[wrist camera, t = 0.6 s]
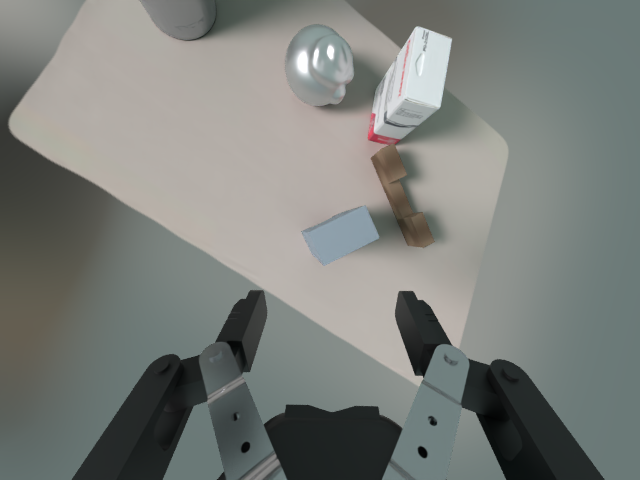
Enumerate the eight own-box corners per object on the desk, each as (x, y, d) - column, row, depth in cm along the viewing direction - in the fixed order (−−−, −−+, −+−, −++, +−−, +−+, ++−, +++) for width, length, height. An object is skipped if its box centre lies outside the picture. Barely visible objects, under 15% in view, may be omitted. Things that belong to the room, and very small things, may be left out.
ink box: (394, 146, 38) (442, 109, 26) (366, 140, 37) (403, 99, 25) (402, 95, 37) (455, 34, 26) (374, 88, 37) (415, 22, 25)
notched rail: (370, 158, 37) (382, 148, 33) (381, 153, 37) (394, 143, 33) (407, 245, 39) (423, 247, 34) (417, 240, 39) (434, 241, 34)
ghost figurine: (302, 130, 35) (308, 91, 25) (275, 71, 34) (270, 7, 24) (353, 108, 36) (377, 62, 26) (327, 50, 35) (343, -20, 25)
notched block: (301, 231, 36) (308, 232, 24) (340, 213, 37) (365, 205, 25) (311, 254, 36) (324, 265, 24) (350, 235, 37) (379, 237, 25)
